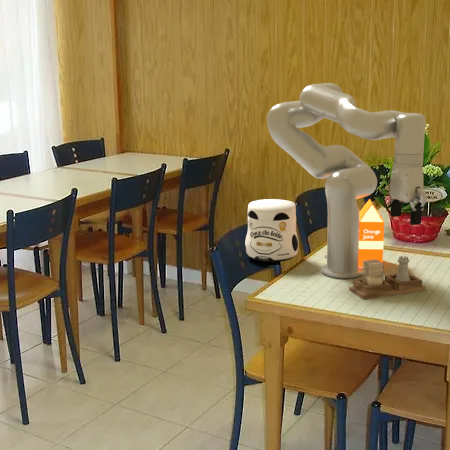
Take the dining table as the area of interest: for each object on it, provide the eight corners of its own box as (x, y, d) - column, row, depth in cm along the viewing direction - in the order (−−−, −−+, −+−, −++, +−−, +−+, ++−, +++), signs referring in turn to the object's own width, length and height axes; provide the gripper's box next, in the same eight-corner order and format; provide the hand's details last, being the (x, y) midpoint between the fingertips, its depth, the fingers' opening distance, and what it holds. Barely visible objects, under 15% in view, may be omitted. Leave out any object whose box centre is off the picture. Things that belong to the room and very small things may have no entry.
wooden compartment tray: (349, 290, 204) (349, 259, 202) (409, 281, 211) (411, 252, 209) (363, 299, 197) (364, 267, 195) (426, 290, 204) (427, 259, 201)
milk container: (254, 268, 226) (254, 212, 221) (238, 253, 242) (238, 200, 237) (306, 263, 230) (307, 207, 225) (287, 248, 246) (287, 196, 242)
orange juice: (379, 259, 232) (382, 198, 227) (382, 267, 224) (385, 204, 219) (355, 259, 233) (357, 198, 228) (357, 267, 225) (359, 204, 220)
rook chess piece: (408, 281, 208) (409, 254, 206) (412, 286, 203) (413, 259, 201) (392, 282, 208) (393, 255, 206) (396, 287, 203) (397, 259, 201)
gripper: (379, 155, 203) (377, 214, 208) (415, 165, 187) (411, 229, 192) (403, 153, 206) (399, 212, 210) (439, 163, 190) (435, 226, 194)
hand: (405, 220), depth 201 cm, fingers open, 9 cm apart
